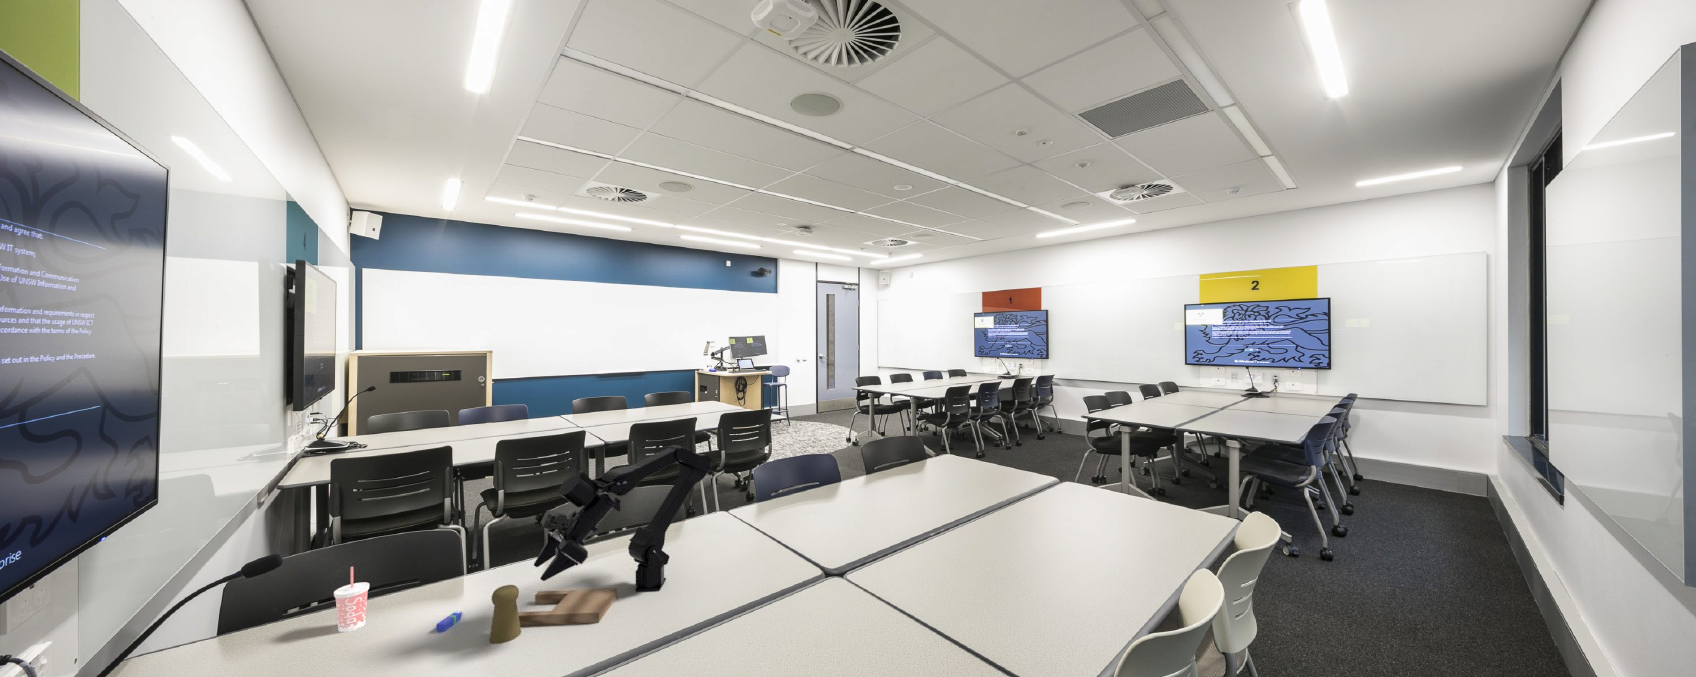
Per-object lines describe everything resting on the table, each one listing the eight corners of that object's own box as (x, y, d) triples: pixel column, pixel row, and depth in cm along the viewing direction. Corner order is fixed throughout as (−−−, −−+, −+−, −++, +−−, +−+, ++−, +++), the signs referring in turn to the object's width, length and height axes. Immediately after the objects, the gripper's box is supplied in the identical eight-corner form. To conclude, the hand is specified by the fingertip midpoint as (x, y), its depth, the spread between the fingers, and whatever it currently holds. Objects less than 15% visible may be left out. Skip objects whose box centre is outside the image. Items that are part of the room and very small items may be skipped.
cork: (527, 631, 121) (527, 583, 121) (502, 645, 115) (502, 595, 115) (508, 626, 123) (508, 579, 123) (482, 640, 117) (482, 591, 117)
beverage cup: (329, 636, 119) (328, 574, 119) (339, 623, 124) (339, 564, 124) (364, 629, 122) (364, 569, 121) (373, 616, 127) (373, 559, 127)
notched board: (616, 597, 137) (616, 588, 137) (598, 622, 125) (598, 612, 125) (538, 600, 135) (538, 591, 135) (512, 626, 123) (512, 615, 123)
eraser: (463, 618, 127) (463, 610, 127) (444, 632, 121) (444, 623, 121) (455, 618, 127) (455, 610, 127) (435, 632, 121) (435, 623, 121)
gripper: (556, 488, 134) (504, 542, 127) (572, 507, 119) (515, 568, 112) (590, 513, 139) (542, 566, 132) (609, 533, 124) (556, 594, 117)
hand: (538, 572), depth 123 cm, fingers open, 9 cm apart
